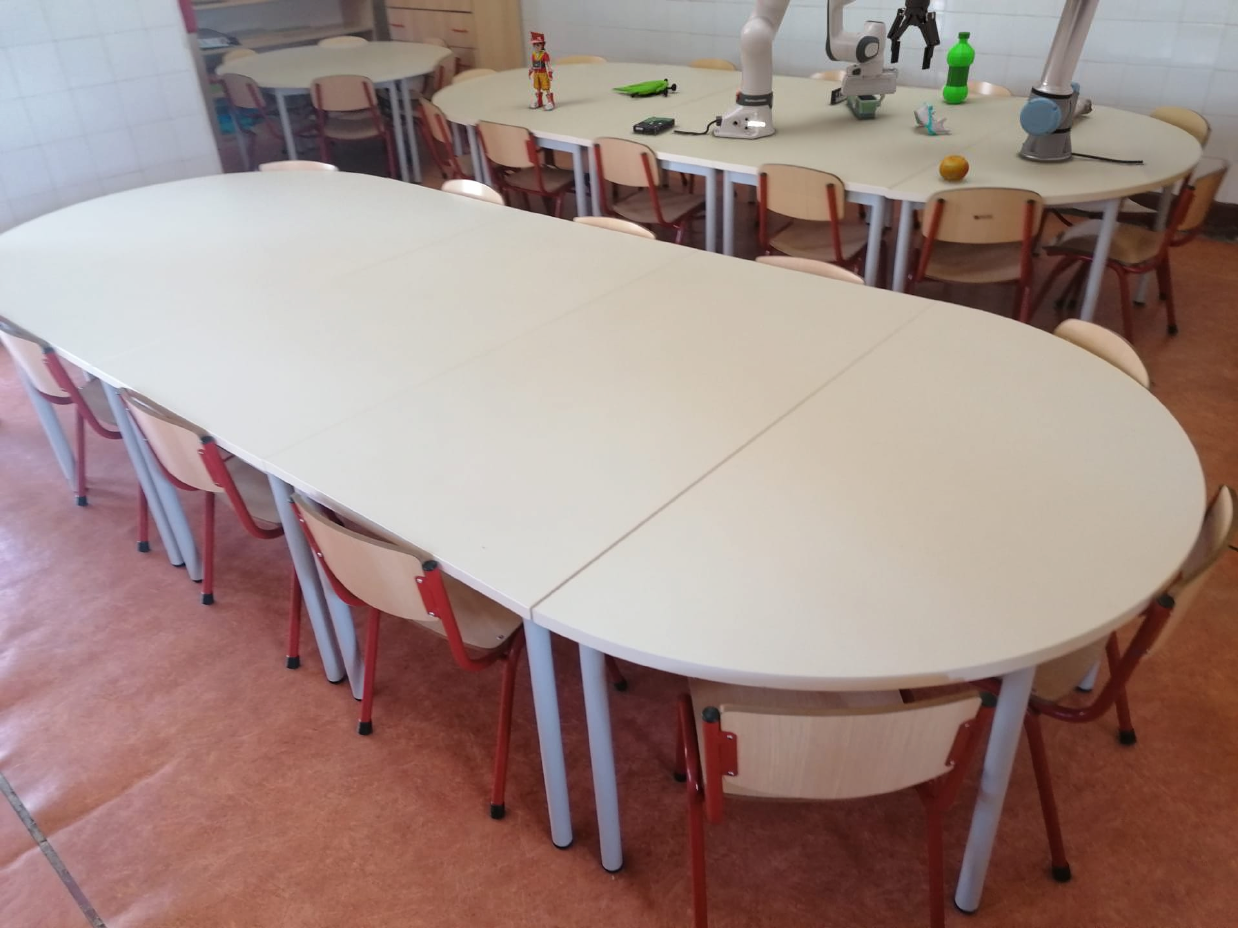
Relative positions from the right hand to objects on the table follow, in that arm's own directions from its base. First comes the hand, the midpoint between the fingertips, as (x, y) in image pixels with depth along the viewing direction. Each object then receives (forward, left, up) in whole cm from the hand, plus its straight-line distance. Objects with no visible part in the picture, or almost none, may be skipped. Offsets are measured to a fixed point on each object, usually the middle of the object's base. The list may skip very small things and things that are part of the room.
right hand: (909, 66), depth 291 cm
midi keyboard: (+21, -71, -27) cm, 79 cm away
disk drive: (+90, -23, -27) cm, 97 cm away
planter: (+14, -53, -27) cm, 61 cm away
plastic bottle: (-22, -68, -27) cm, 76 cm away
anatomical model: (-11, -26, -27) cm, 39 cm away
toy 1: (+146, -56, -27) cm, 159 cm away
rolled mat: (-57, -36, -27) cm, 72 cm away
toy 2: (+109, -84, -27) cm, 141 cm away
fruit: (-16, +31, -27) cm, 44 cm away
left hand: (+12, -44, -23) cm, 51 cm away
